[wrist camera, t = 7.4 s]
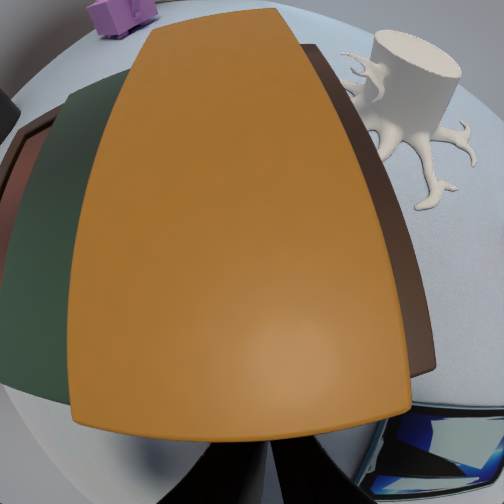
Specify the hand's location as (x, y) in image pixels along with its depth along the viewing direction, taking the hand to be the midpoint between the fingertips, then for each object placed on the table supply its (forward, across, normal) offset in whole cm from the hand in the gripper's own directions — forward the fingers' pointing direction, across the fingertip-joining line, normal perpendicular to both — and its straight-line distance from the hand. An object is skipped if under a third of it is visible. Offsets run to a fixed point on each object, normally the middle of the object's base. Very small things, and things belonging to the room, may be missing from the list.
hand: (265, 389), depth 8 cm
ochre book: (+9, 0, -2) cm, 9 cm away
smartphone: (-1, +12, -12) cm, 17 cm away
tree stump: (+20, +15, +9) cm, 26 cm away
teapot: (+52, -24, +41) cm, 71 cm away
